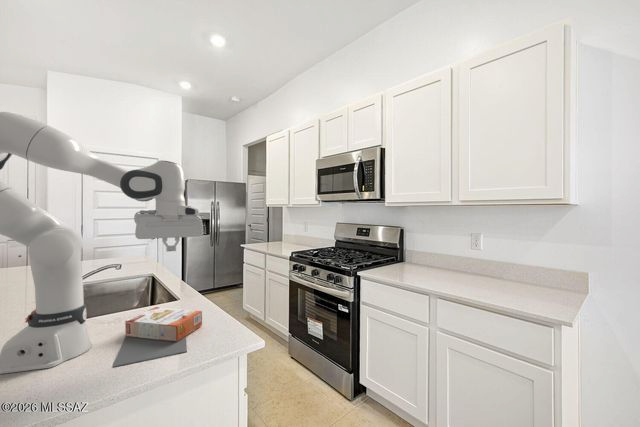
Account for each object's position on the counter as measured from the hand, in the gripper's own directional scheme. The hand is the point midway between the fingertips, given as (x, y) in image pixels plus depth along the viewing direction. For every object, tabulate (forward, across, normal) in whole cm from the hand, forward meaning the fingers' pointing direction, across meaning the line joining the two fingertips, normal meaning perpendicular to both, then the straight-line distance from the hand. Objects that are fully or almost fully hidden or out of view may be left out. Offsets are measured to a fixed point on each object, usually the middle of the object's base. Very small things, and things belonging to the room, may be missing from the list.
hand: (171, 251), depth 97 cm
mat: (+30, -5, 0) cm, 31 cm away
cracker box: (+27, +6, +2) cm, 28 cm away
